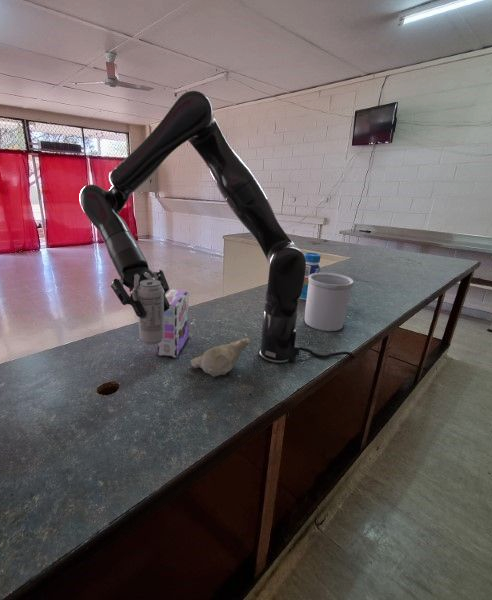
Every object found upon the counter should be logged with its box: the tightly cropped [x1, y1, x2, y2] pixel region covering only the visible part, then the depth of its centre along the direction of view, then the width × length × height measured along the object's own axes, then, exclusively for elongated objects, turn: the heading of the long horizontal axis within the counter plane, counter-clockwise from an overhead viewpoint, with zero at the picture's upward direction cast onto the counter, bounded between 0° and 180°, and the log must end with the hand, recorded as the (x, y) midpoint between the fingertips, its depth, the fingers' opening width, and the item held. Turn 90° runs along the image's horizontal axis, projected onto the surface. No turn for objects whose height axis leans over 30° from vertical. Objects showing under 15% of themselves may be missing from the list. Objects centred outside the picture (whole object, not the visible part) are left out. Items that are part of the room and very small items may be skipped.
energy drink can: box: [137, 278, 164, 346], centre depth 76 cm, size 6×6×15 cm
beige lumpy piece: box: [190, 337, 251, 378], centre depth 85 cm, size 15×7×15 cm
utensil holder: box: [304, 272, 354, 332], centre depth 114 cm, size 15×15×18 cm
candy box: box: [157, 288, 189, 359], centre depth 95 cm, size 14×6×16 cm, turn 168°
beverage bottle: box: [299, 252, 321, 301], centre depth 140 cm, size 8×8×20 cm
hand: (155, 313), depth 75 cm, fingers closed on energy drink can, 6 cm apart
